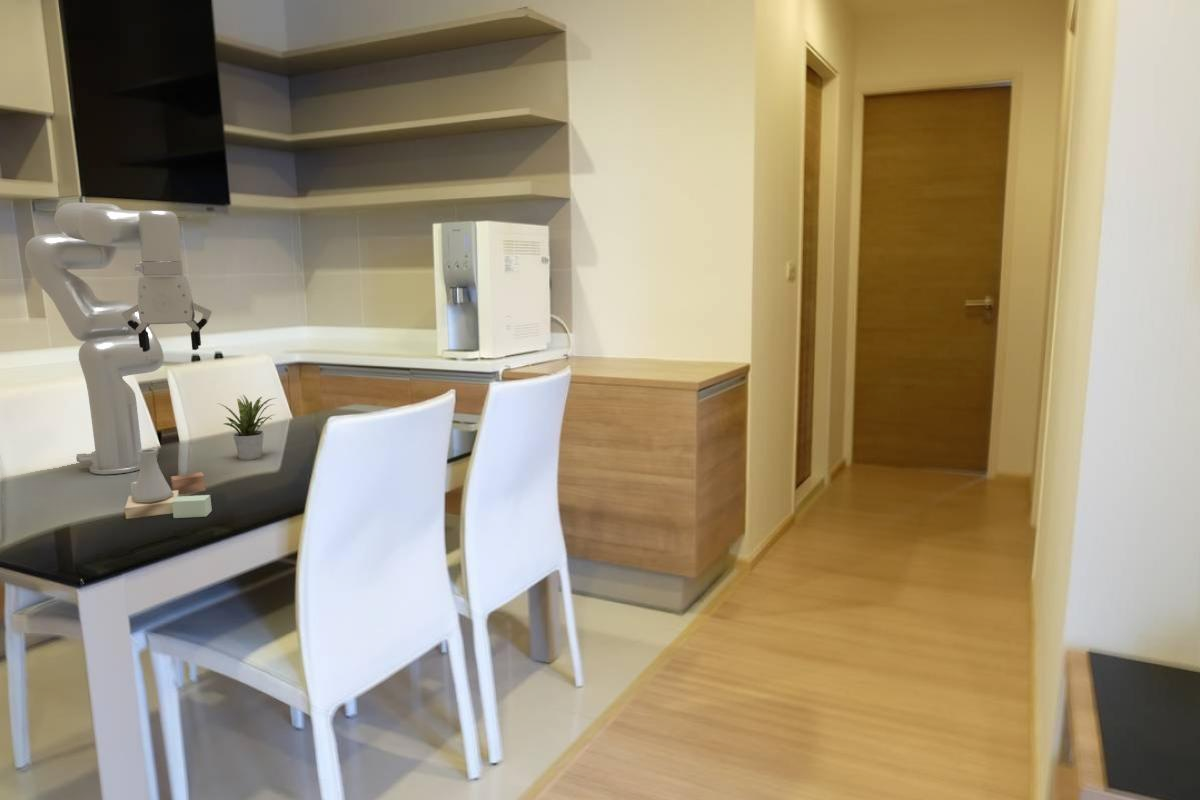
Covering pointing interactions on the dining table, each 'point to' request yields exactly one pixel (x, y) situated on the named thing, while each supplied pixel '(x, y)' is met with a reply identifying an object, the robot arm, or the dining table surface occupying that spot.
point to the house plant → (248, 429)
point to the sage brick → (191, 506)
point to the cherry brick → (188, 483)
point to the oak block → (149, 507)
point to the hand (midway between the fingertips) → (171, 350)
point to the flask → (150, 480)
